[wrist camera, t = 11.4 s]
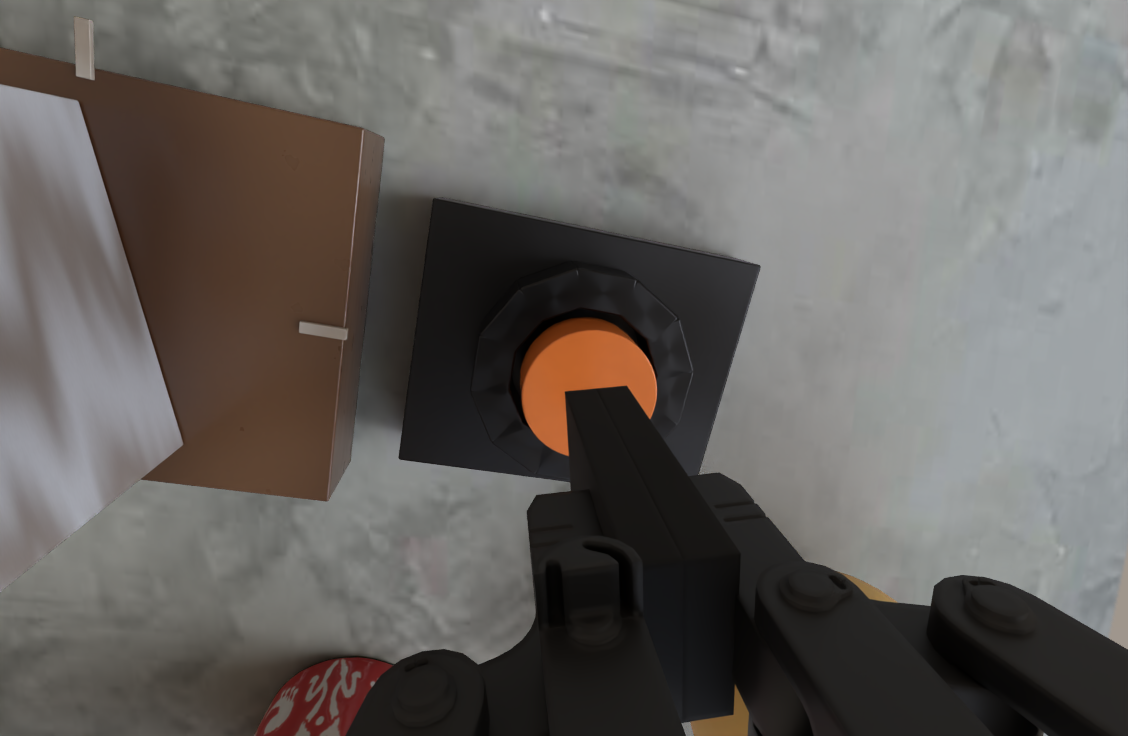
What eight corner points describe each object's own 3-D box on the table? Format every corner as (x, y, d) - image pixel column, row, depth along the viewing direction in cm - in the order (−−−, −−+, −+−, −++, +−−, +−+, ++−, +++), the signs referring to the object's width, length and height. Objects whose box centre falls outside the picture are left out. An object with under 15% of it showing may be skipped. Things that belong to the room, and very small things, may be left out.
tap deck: (-64, 436, 20) (-163, 480, 17) (-118, -15, 16) (-260, -63, 13) (350, 486, 22) (327, 533, 19) (392, 102, 18) (371, 85, 15)
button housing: (407, 434, 22) (388, 485, 18) (440, 196, 19) (425, 198, 16) (675, 471, 24) (708, 525, 20) (736, 257, 21) (787, 273, 17)
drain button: (509, 425, 18) (510, 449, 17) (532, 306, 17) (536, 318, 15) (627, 442, 19) (639, 467, 17) (656, 328, 18) (672, 342, 16)
